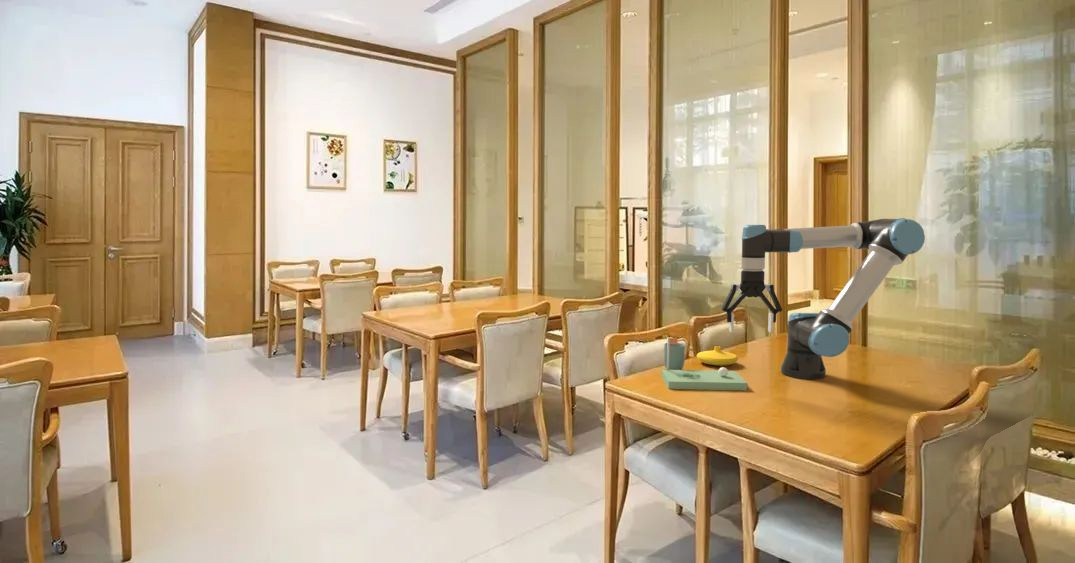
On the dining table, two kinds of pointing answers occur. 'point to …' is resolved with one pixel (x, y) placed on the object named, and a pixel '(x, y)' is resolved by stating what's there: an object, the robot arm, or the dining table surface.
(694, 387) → the green stand
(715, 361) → the yellow round domed piece
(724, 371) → the ball
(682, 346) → the cup
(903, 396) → the dining table surface
